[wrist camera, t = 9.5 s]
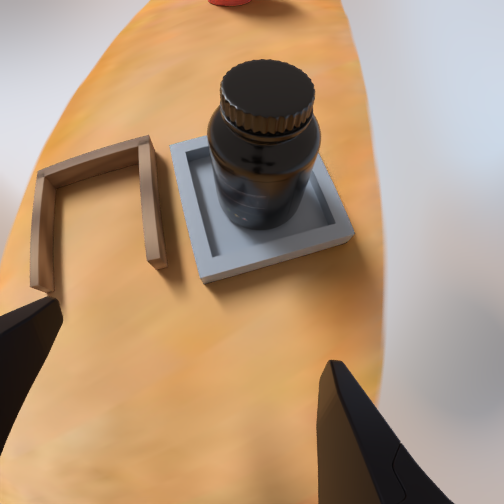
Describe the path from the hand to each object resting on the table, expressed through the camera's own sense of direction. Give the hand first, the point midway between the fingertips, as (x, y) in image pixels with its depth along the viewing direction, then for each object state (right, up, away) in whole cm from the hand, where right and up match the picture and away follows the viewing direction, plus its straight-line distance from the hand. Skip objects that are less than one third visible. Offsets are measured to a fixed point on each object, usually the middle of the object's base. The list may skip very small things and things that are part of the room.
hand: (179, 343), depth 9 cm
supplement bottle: (+3, +7, +16) cm, 18 cm away
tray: (+2, +7, +17) cm, 18 cm away
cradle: (-12, +5, +16) cm, 20 cm away
